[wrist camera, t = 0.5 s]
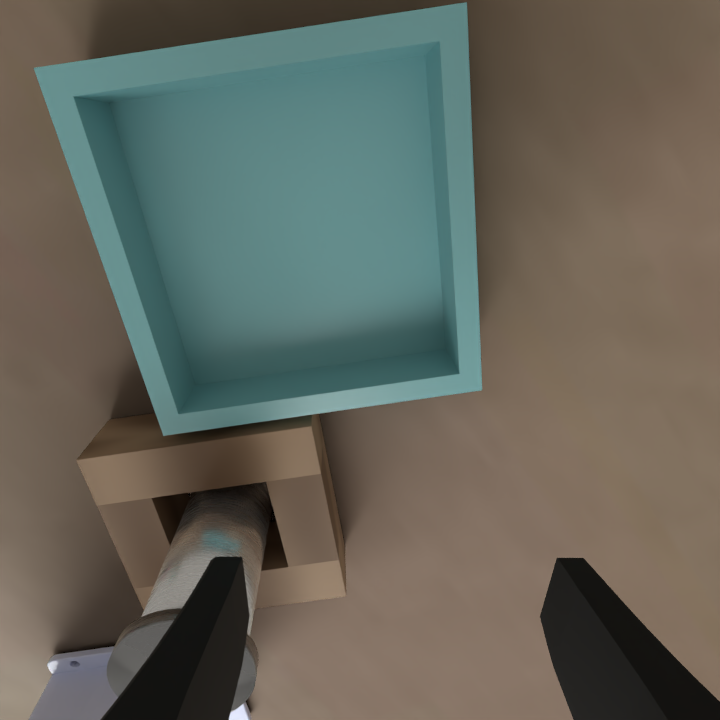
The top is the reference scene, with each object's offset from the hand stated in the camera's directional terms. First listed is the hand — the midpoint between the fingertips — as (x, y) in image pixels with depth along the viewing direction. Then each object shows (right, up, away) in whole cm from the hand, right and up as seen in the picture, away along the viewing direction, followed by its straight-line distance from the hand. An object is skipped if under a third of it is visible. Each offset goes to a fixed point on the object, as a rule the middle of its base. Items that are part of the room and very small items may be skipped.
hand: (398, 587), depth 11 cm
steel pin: (-7, -1, +12) cm, 13 cm away
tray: (-3, +10, +7) cm, 13 cm away
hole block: (-7, -1, +12) cm, 13 cm away
